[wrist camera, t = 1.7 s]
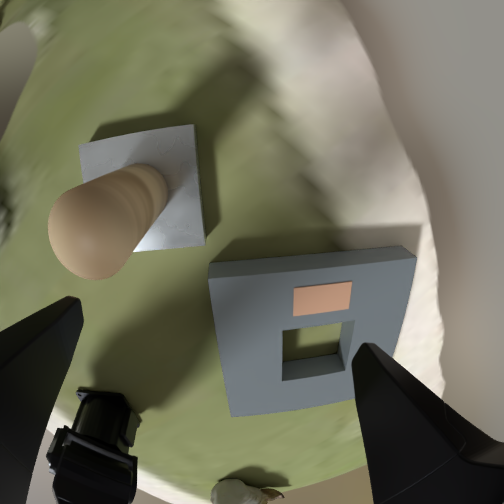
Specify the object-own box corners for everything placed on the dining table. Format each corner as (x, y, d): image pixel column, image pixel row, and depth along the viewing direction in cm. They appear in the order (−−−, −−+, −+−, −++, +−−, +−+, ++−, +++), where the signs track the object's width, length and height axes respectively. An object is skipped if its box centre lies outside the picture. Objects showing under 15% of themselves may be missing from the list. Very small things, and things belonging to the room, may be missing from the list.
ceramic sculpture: (251, 515, 28) (292, 520, 35) (245, 469, 36) (285, 484, 42) (193, 521, 29) (242, 529, 36) (192, 479, 37) (238, 495, 44)
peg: (116, 225, 18) (62, 282, 11) (107, 168, 17) (39, 195, 9) (171, 219, 19) (139, 277, 11) (164, 159, 17) (121, 179, 10)
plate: (105, 247, 20) (98, 255, 19) (87, 143, 17) (78, 145, 16) (206, 237, 21) (205, 245, 19) (195, 125, 18) (193, 124, 16)
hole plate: (230, 398, 28) (231, 417, 26) (209, 263, 22) (207, 279, 19) (371, 376, 29) (380, 392, 26) (401, 245, 23) (417, 258, 20)
